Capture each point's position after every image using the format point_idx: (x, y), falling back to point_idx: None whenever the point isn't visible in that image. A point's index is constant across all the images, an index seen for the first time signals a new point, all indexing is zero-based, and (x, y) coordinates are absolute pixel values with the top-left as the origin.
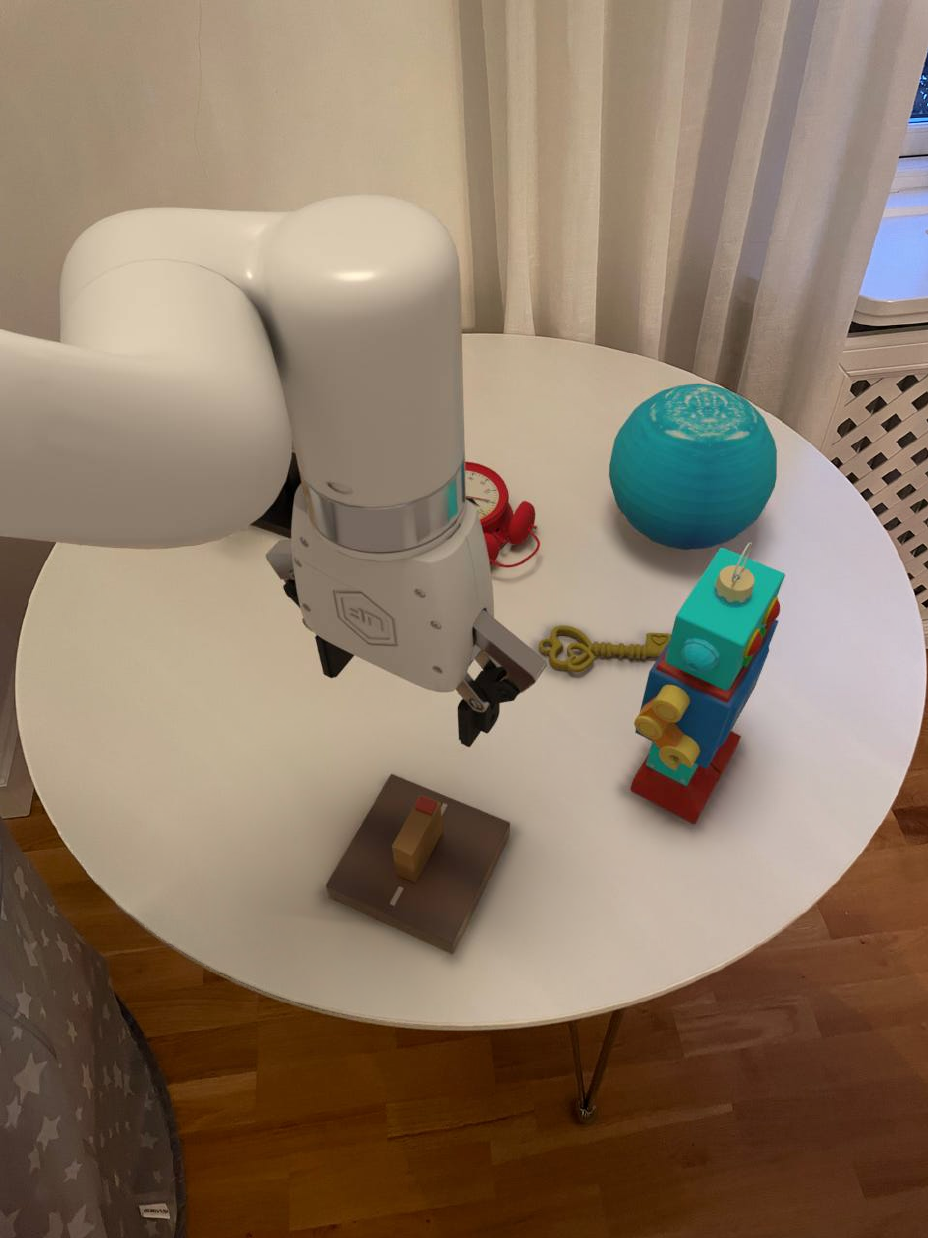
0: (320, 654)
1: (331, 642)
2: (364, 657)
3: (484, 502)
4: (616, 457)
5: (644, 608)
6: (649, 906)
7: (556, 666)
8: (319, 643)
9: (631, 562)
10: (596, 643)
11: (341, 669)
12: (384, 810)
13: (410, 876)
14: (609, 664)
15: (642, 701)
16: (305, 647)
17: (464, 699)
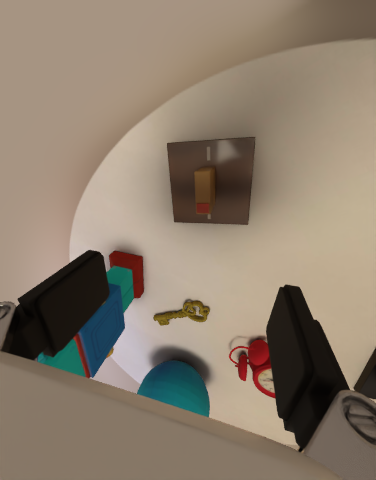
0: (313, 328)
1: (257, 462)
2: (117, 420)
3: (265, 379)
4: (200, 414)
5: (177, 333)
6: (111, 210)
7: (197, 302)
8: (322, 360)
9: (191, 350)
10: (184, 316)
11: (276, 299)
12: (241, 201)
13: (204, 167)
14: (178, 307)
15: (102, 307)
16: (342, 282)
17: (9, 319)
